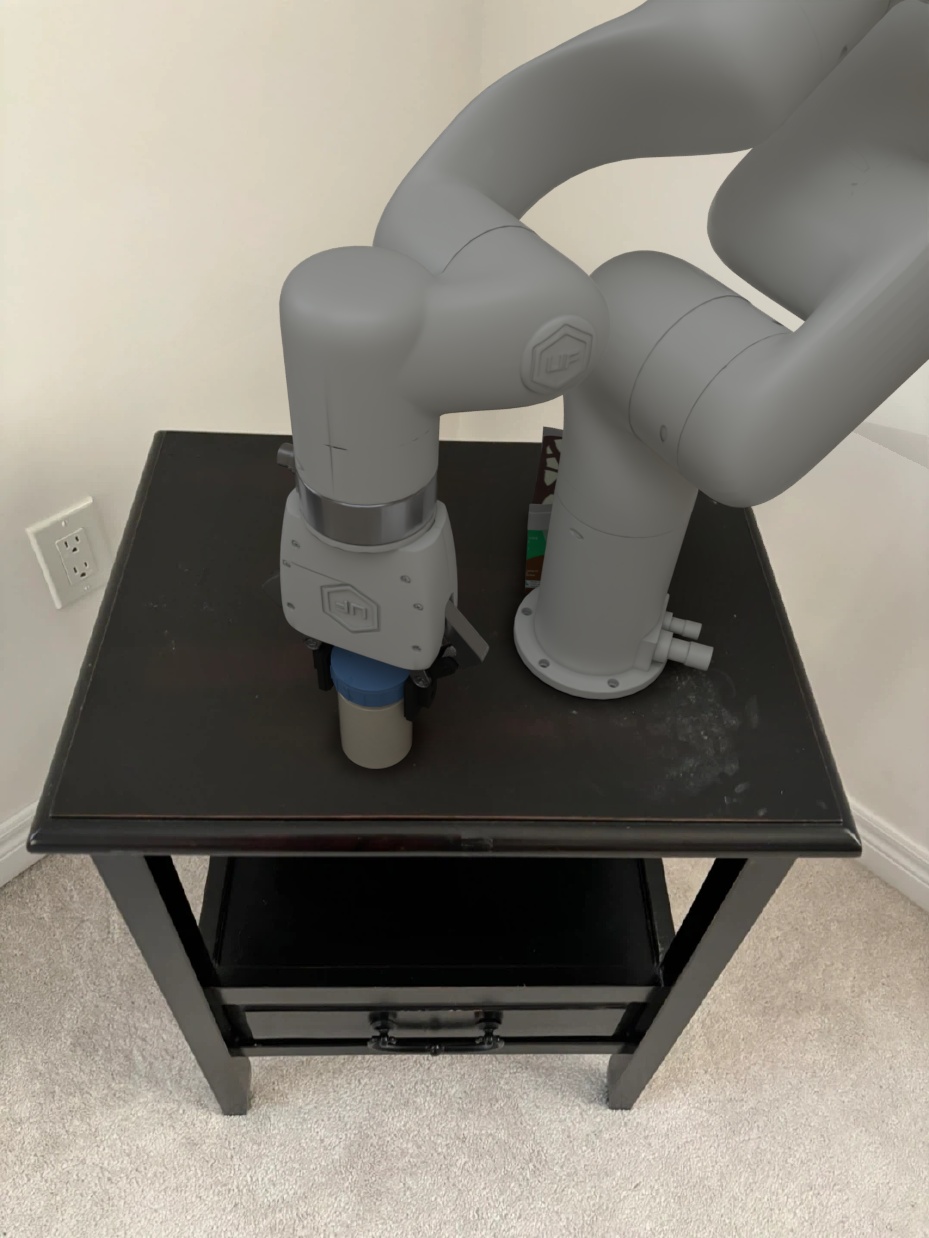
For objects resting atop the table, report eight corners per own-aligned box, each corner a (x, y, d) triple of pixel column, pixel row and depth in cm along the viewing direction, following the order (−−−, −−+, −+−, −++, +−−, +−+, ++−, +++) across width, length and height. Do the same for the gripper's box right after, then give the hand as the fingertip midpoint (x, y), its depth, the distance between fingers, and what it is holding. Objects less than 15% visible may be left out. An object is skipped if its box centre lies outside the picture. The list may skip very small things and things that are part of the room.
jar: (422, 722, 69) (424, 647, 63) (397, 778, 66) (396, 705, 60) (358, 702, 70) (353, 626, 64) (329, 756, 67) (321, 682, 60)
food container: (596, 613, 77) (610, 516, 70) (522, 605, 78) (528, 508, 71) (603, 523, 86) (616, 429, 79) (537, 516, 86) (543, 423, 80)
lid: (316, 690, 61) (314, 673, 60) (354, 630, 65) (354, 613, 63) (396, 719, 60) (395, 702, 59) (430, 656, 64) (431, 639, 62)
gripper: (192, 484, 50) (237, 690, 63) (492, 578, 46) (472, 776, 60) (263, 409, 55) (290, 615, 68) (540, 489, 51) (511, 690, 64)
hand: (375, 688), depth 64 cm, fingers closed on lid, 5 cm apart
